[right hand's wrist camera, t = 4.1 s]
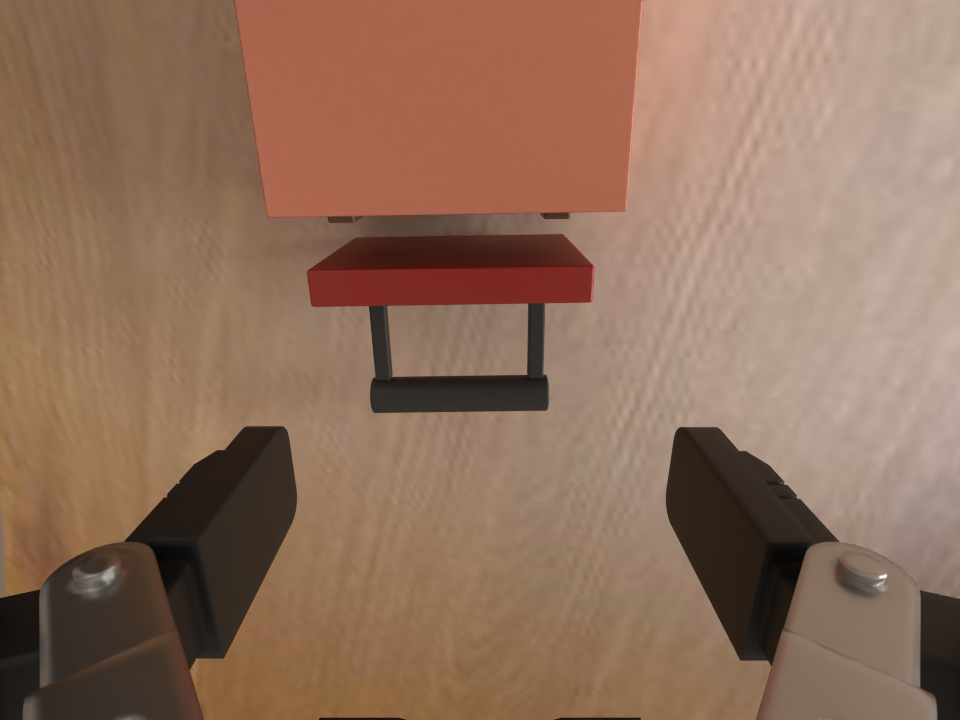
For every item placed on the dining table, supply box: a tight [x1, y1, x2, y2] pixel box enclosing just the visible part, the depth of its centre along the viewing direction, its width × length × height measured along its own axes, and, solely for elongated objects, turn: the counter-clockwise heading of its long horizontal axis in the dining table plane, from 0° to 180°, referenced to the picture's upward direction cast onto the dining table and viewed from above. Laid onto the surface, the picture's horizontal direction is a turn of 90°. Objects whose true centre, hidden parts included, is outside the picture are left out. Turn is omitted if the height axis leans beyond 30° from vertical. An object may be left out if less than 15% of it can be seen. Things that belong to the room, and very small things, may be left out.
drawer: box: [307, 212, 594, 413], centre depth 18 cm, size 23×9×7 cm, turn 1°
